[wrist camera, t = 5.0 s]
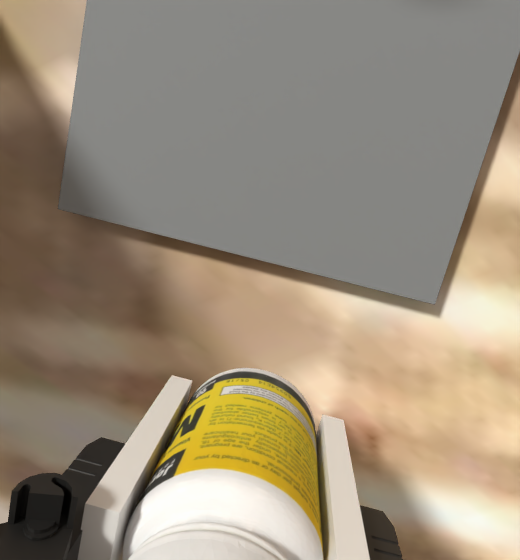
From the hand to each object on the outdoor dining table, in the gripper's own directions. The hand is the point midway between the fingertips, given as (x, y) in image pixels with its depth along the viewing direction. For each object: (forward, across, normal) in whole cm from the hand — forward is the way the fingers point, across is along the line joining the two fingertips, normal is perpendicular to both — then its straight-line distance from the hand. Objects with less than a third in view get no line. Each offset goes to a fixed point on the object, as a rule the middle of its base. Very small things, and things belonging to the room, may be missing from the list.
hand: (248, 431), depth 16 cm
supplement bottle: (+1, 0, 0) cm, 1 cm away
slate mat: (+6, -2, +12) cm, 13 cm away
